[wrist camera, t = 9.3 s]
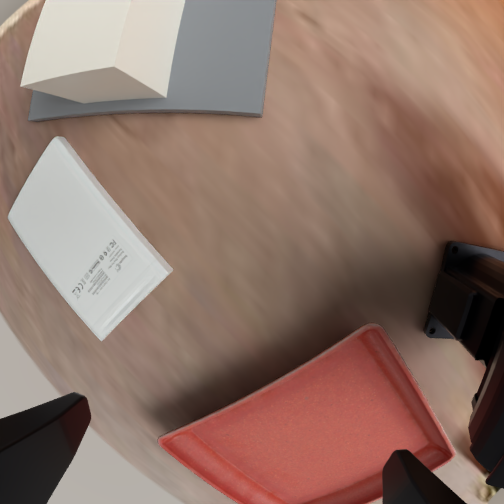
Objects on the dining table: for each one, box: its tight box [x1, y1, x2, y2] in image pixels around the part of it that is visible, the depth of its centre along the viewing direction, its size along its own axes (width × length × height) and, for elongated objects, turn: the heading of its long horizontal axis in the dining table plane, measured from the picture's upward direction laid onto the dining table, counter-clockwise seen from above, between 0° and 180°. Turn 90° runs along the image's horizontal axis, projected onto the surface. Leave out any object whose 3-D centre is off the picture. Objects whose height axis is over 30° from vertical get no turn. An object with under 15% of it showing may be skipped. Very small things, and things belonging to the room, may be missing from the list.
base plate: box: [28, 0, 276, 122], centre depth 14 cm, size 17×11×4 cm, turn 83°
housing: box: [20, 0, 185, 104], centre depth 12 cm, size 10×6×6 cm, turn 174°
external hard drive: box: [8, 136, 173, 341], centre depth 19 cm, size 2×8×12 cm
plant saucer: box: [157, 323, 456, 504], centre depth 20 cm, size 18×18×3 cm
